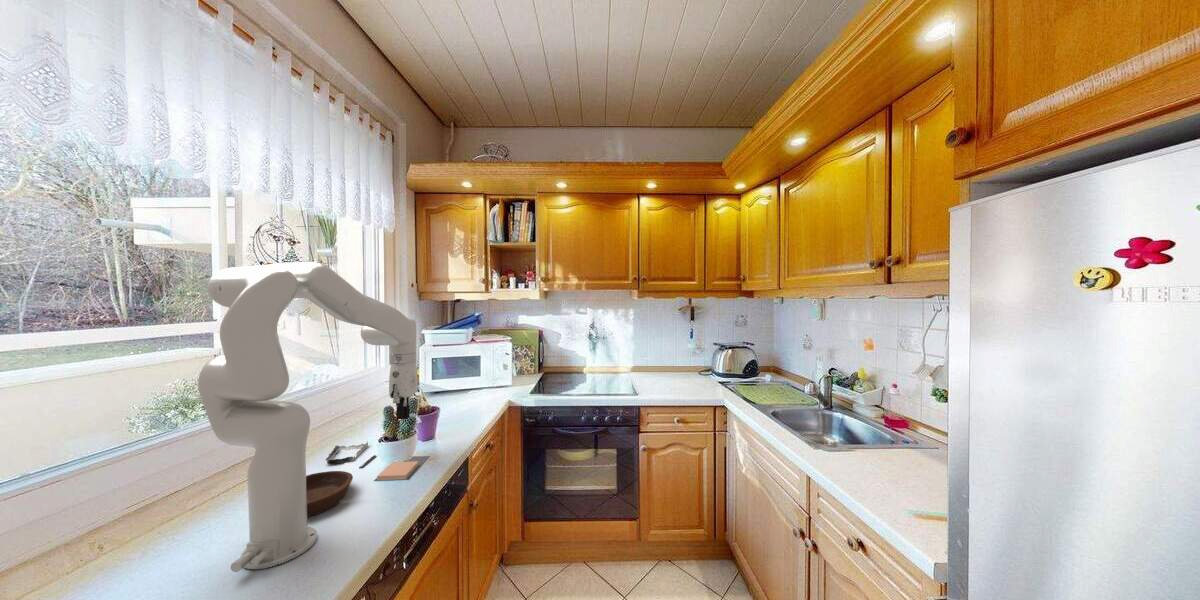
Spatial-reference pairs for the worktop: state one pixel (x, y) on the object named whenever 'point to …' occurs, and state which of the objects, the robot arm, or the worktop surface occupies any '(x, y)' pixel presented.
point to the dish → (326, 490)
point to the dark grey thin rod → (368, 461)
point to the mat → (421, 462)
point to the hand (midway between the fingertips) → (403, 418)
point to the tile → (398, 470)
